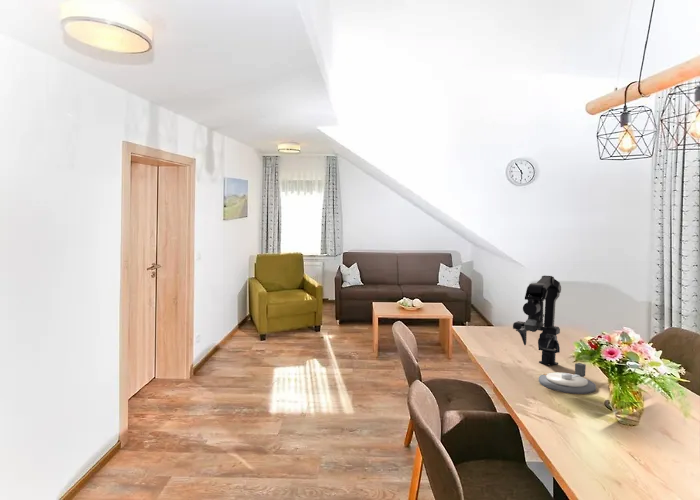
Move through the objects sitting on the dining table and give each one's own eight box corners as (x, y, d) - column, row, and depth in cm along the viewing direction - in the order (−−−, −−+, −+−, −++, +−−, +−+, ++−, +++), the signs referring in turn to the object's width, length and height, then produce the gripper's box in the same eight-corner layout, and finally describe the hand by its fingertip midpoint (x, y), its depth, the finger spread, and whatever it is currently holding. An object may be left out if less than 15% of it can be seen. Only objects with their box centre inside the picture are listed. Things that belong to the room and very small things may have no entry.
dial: (573, 389, 176) (573, 375, 175) (538, 378, 189) (538, 365, 189) (600, 381, 186) (600, 368, 186) (564, 371, 199) (565, 359, 199)
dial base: (558, 373, 202) (558, 370, 202) (606, 388, 183) (606, 384, 183) (527, 381, 190) (528, 377, 190) (576, 397, 172) (576, 393, 171)
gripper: (508, 312, 193) (507, 346, 194) (552, 317, 181) (551, 354, 182) (517, 308, 202) (517, 342, 202) (560, 314, 189) (559, 349, 190)
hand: (535, 347), depth 194 cm, fingers open, 9 cm apart
